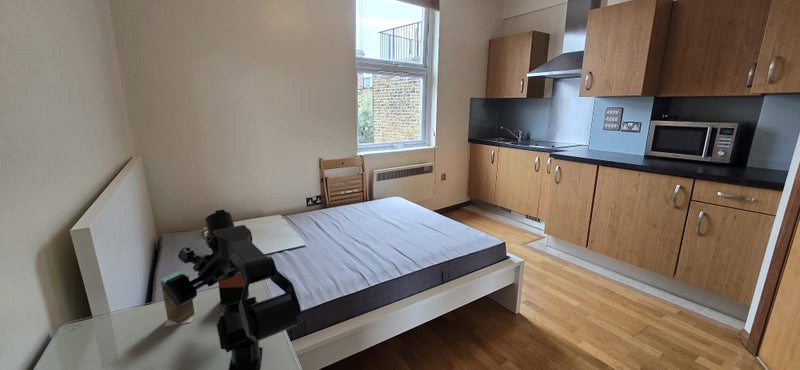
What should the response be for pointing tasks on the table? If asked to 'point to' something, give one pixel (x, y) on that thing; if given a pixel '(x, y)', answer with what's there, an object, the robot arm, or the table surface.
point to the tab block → (174, 311)
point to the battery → (232, 289)
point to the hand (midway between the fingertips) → (194, 290)
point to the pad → (181, 322)
